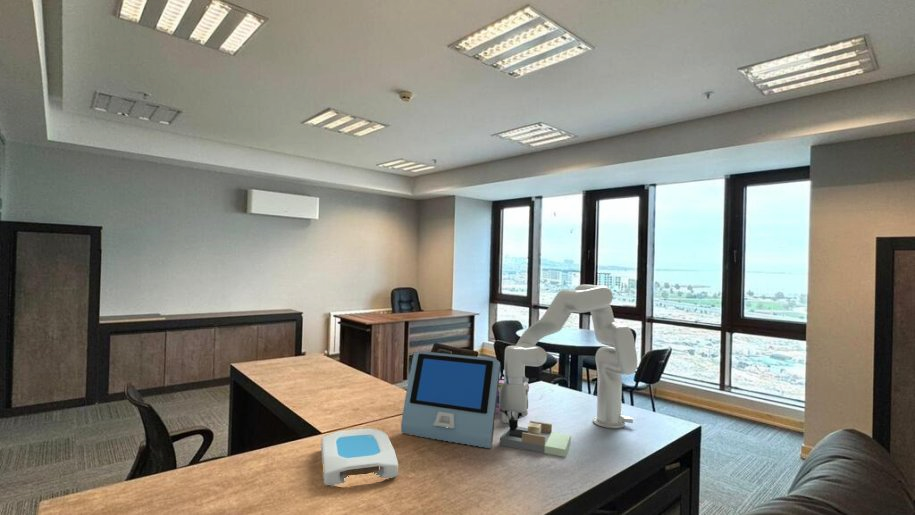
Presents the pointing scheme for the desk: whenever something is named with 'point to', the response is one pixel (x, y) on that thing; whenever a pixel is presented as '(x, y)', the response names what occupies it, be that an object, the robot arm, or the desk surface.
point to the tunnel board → (537, 440)
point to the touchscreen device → (452, 398)
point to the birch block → (534, 428)
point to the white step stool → (357, 454)
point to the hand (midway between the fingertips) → (513, 429)
